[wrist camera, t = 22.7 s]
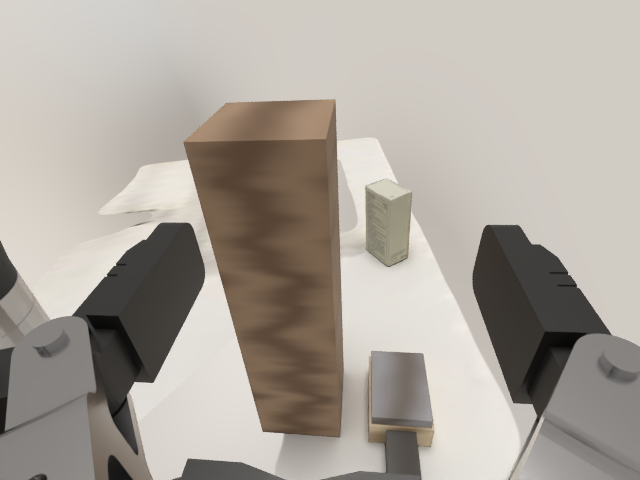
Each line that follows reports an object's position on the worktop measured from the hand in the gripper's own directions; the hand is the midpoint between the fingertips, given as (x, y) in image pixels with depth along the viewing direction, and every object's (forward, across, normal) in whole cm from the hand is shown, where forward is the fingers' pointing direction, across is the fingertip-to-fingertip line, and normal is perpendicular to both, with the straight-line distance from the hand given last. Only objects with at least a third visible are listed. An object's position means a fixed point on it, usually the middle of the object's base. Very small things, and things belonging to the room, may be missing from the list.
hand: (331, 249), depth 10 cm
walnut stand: (+15, +5, +32) cm, 35 cm away
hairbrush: (+10, -5, +32) cm, 34 cm away
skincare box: (+42, -5, +32) cm, 53 cm away
